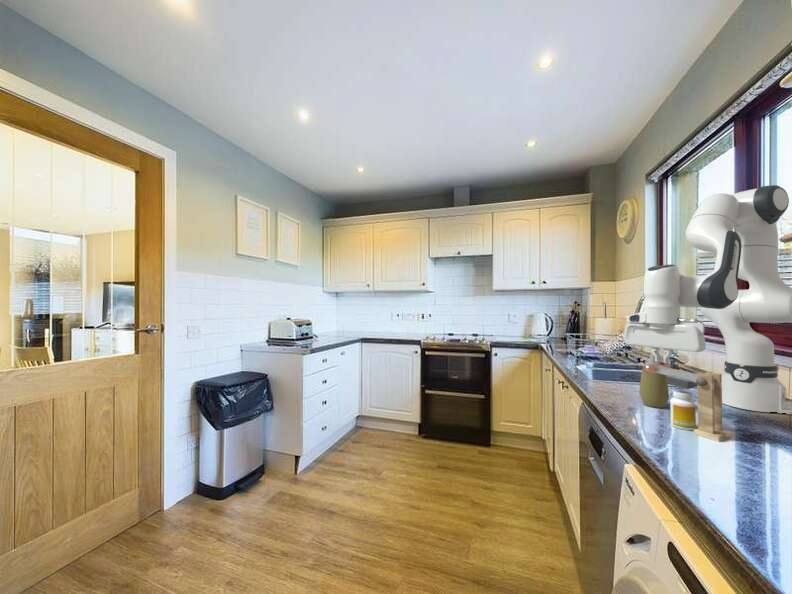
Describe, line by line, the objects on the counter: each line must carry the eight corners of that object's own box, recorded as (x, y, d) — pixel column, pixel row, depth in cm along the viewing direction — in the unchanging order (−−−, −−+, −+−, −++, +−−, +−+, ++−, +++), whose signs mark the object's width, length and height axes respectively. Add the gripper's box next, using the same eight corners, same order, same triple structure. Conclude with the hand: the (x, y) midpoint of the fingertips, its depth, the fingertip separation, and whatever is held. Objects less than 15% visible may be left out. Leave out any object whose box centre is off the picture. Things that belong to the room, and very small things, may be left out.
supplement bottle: (700, 431, 90) (700, 395, 90) (678, 430, 91) (677, 394, 91) (687, 424, 95) (687, 390, 95) (666, 422, 96) (665, 389, 96)
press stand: (707, 429, 91) (706, 371, 91) (732, 436, 86) (730, 374, 86) (693, 434, 88) (692, 373, 88) (718, 441, 83) (717, 377, 83)
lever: (661, 374, 103) (662, 361, 103) (723, 390, 90) (724, 375, 90) (642, 377, 99) (643, 364, 99) (703, 394, 86) (705, 379, 86)
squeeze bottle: (633, 401, 116) (632, 350, 116) (657, 402, 116) (656, 350, 116) (650, 409, 108) (649, 354, 108) (676, 409, 108) (675, 354, 108)
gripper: (710, 319, 93) (710, 368, 93) (632, 316, 112) (633, 357, 112) (698, 319, 91) (698, 370, 90) (621, 316, 109) (621, 358, 109)
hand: (661, 363), depth 101 cm, fingers closed, pressing on lever
